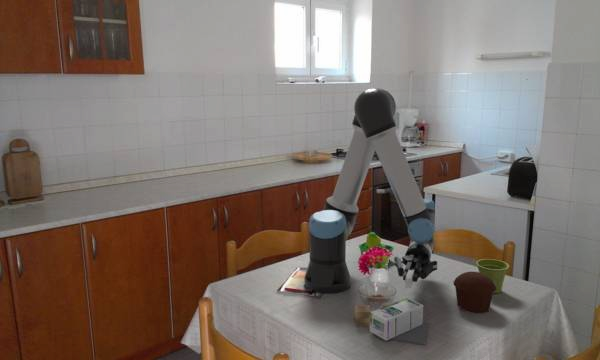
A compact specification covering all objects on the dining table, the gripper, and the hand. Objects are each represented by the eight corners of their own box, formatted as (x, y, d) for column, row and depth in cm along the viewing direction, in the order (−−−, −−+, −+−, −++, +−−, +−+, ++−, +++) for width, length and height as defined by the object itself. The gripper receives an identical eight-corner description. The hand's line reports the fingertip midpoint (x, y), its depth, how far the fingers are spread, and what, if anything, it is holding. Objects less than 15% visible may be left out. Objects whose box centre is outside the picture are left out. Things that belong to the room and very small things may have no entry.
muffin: (497, 303, 143) (499, 271, 141) (492, 318, 133) (494, 284, 131) (456, 295, 148) (457, 264, 146) (448, 309, 139) (449, 276, 137)
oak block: (356, 326, 130) (356, 312, 129) (354, 319, 134) (354, 305, 133) (370, 325, 130) (371, 312, 129) (368, 319, 134) (368, 305, 133)
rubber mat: (376, 337, 124) (376, 335, 124) (385, 316, 135) (385, 315, 135) (424, 345, 120) (424, 343, 120) (429, 323, 131) (429, 322, 131)
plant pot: (502, 299, 145) (504, 271, 144) (470, 291, 151) (472, 265, 150) (510, 288, 153) (512, 262, 151) (480, 282, 158) (481, 256, 157)
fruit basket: (394, 259, 180) (395, 230, 178) (381, 266, 173) (382, 236, 171) (368, 253, 187) (369, 225, 185) (355, 259, 181) (356, 230, 179)
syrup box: (423, 304, 128) (385, 319, 120) (422, 325, 129) (385, 341, 121) (407, 297, 133) (369, 311, 124) (406, 317, 134) (368, 332, 125)
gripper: (439, 269, 150) (432, 299, 129) (397, 264, 155) (383, 293, 133) (440, 245, 149) (433, 272, 127) (397, 241, 153) (384, 267, 132)
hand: (408, 283), depth 130 cm, fingers closed
